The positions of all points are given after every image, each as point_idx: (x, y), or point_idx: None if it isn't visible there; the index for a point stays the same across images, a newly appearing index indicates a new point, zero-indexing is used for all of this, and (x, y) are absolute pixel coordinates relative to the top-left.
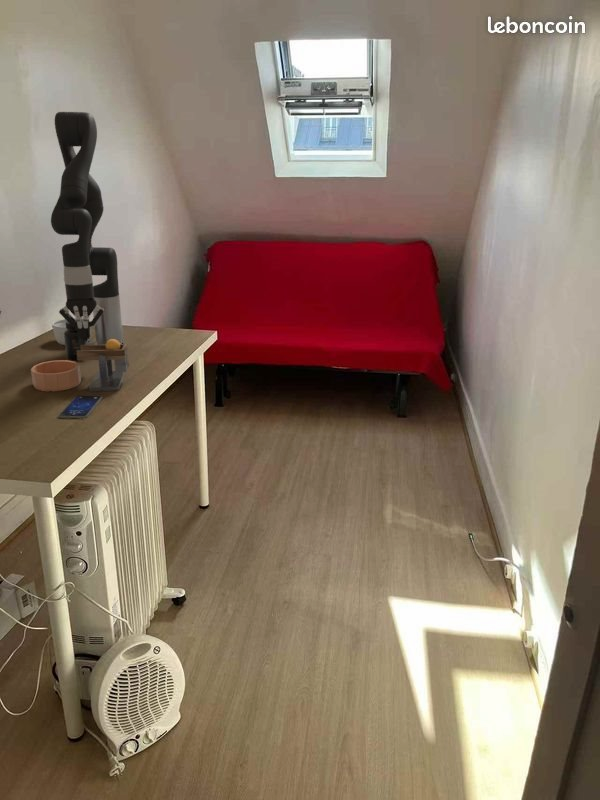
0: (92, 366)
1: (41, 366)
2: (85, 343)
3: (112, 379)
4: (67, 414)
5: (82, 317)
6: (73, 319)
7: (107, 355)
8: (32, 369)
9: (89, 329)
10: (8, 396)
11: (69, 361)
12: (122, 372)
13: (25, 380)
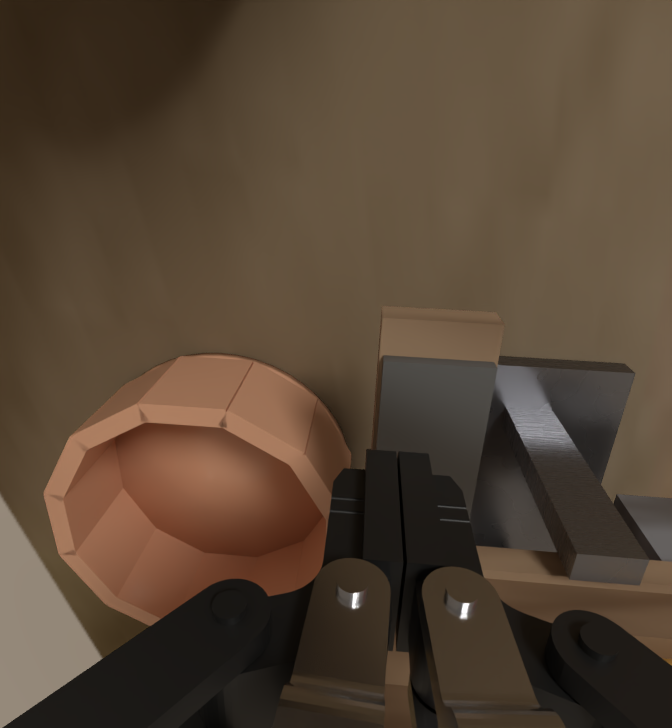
0: (392, 144)
1: (86, 458)
2: (383, 422)
3: (538, 510)
4: None
5: (383, 711)
6: (193, 704)
7: None
8: (69, 555)
9: (476, 572)
10: (57, 575)
11: (259, 441)
12: (616, 402)
13: (28, 385)
